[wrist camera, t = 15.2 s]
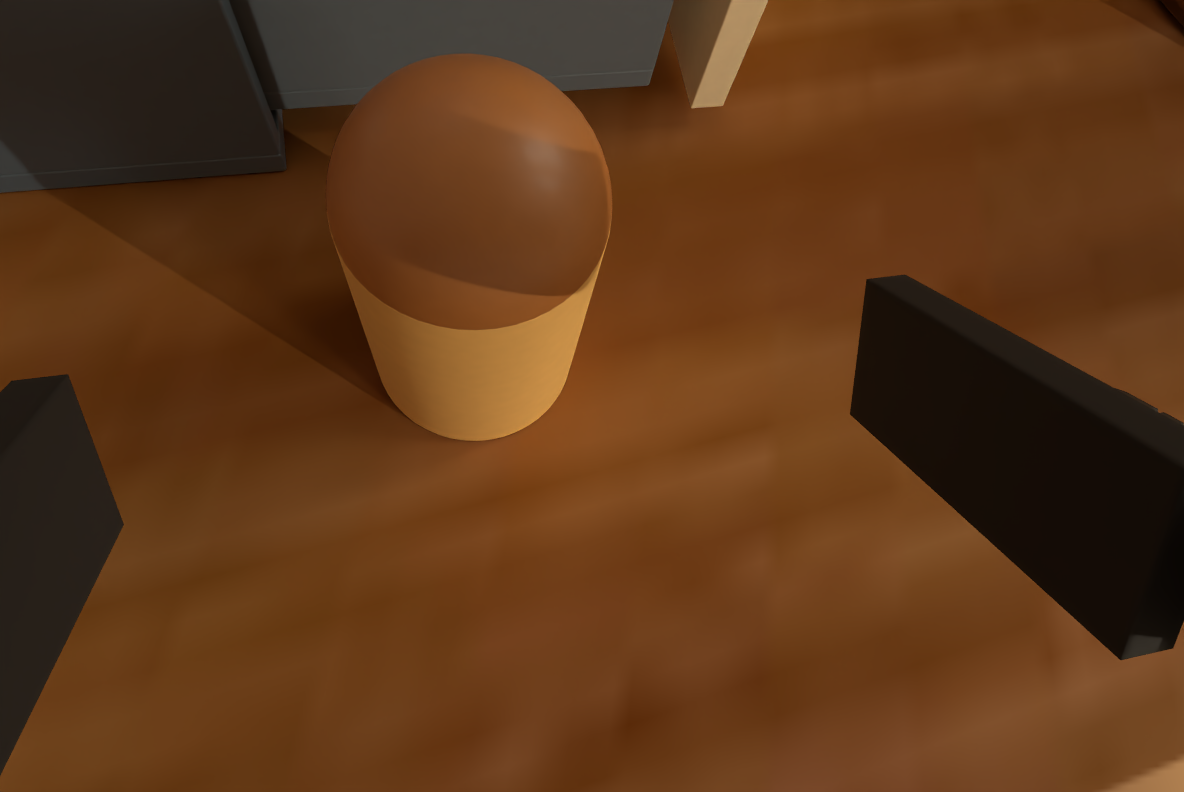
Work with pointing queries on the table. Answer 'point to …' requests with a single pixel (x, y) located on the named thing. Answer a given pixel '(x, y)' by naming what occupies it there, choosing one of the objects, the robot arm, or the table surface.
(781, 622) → the table surface
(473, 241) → the dome-topped cylinder
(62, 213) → the table surface
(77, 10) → the cabinet
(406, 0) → the drawer
